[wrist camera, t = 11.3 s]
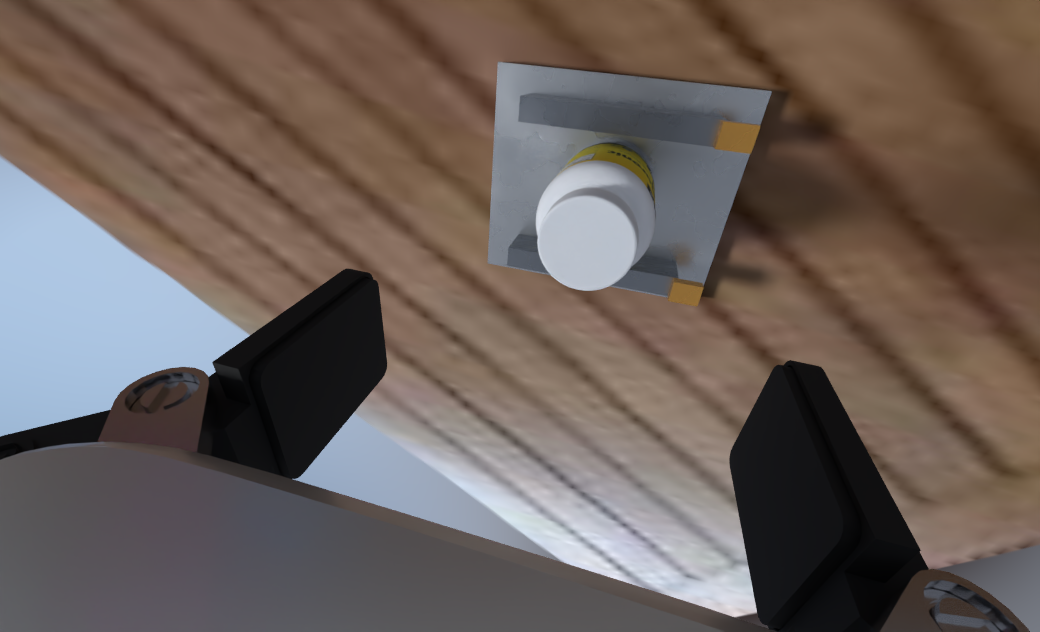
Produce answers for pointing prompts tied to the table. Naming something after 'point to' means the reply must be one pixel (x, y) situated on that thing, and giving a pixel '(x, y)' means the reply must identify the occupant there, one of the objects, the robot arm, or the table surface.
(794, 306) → the table surface
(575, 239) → the supplement bottle
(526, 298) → the table surface
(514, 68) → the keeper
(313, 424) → the robot arm
